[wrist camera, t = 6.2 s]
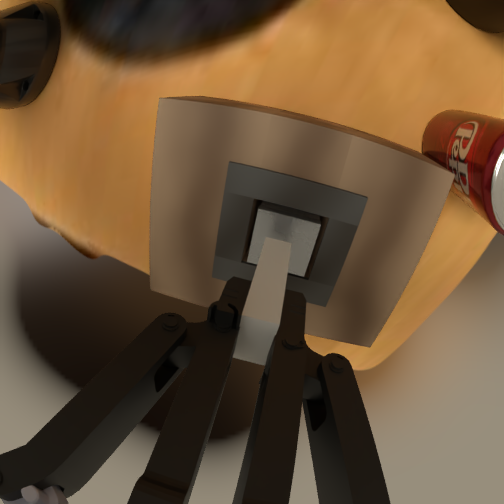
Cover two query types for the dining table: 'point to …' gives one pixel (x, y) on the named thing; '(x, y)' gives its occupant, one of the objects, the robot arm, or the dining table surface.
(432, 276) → the dining table surface
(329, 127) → the socket block
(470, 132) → the soda can
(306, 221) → the peg
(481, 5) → the mug
